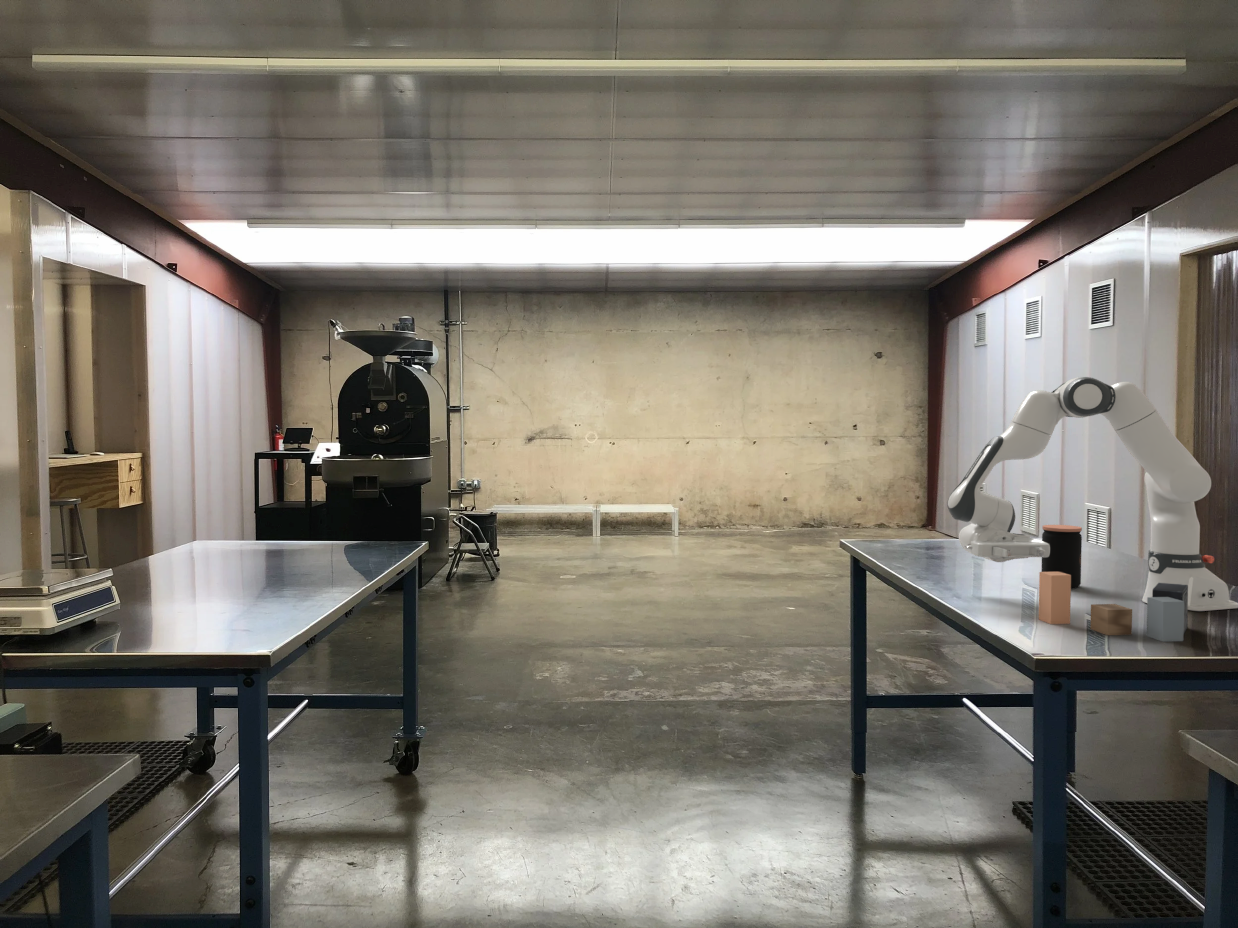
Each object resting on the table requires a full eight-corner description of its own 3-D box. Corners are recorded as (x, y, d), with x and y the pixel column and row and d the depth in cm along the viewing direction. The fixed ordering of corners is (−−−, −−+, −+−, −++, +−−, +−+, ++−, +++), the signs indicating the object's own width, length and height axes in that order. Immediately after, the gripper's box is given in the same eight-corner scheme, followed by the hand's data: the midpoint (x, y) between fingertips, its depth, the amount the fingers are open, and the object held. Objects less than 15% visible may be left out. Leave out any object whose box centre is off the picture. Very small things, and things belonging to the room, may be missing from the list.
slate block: (1166, 635, 192) (1167, 596, 191) (1183, 640, 187) (1184, 601, 186) (1146, 635, 191) (1147, 597, 191) (1162, 641, 186) (1163, 601, 186)
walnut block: (1114, 628, 199) (1114, 603, 198) (1131, 634, 193) (1132, 609, 192) (1090, 629, 198) (1090, 604, 198) (1107, 635, 192) (1107, 609, 192)
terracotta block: (1057, 618, 209) (1058, 571, 208) (1070, 623, 204) (1071, 575, 203) (1038, 619, 208) (1039, 571, 208) (1050, 624, 203) (1051, 575, 203)
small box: (1156, 623, 203) (1157, 581, 203) (1188, 628, 199) (1189, 584, 198) (1150, 632, 195) (1151, 587, 194) (1183, 636, 191) (1184, 591, 190)
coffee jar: (1088, 589, 247) (1089, 528, 246) (1051, 589, 247) (1053, 528, 246) (1069, 582, 257) (1070, 524, 257) (1034, 582, 258) (1035, 524, 257)
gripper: (961, 534, 230) (988, 541, 216) (1032, 534, 232) (1062, 541, 218) (961, 556, 230) (987, 565, 217) (1031, 557, 232) (1061, 565, 218)
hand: (1025, 553), depth 217 cm, fingers open, 8 cm apart
